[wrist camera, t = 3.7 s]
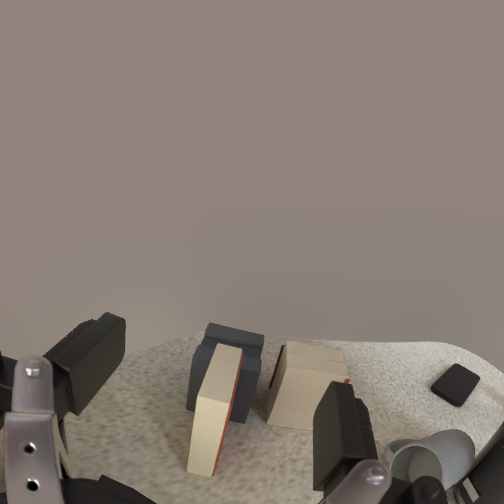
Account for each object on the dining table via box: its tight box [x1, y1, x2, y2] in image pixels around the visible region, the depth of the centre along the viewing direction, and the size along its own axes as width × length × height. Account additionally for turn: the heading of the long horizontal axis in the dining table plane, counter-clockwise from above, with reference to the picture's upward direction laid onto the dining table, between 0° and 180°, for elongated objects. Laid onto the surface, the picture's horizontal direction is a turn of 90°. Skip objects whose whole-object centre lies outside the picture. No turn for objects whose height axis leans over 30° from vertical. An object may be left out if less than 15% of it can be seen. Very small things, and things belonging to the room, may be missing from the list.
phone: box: [431, 364, 480, 407], centre depth 43 cm, size 7×1×15 cm
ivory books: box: [267, 340, 350, 431], centre depth 34 cm, size 7×8×9 cm
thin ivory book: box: [187, 343, 244, 478], centre depth 25 cm, size 3×8×11 cm, turn 175°
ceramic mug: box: [384, 429, 475, 491], centre depth 23 cm, size 11×8×8 cm
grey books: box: [186, 323, 264, 424], centre depth 34 cm, size 7×9×8 cm
